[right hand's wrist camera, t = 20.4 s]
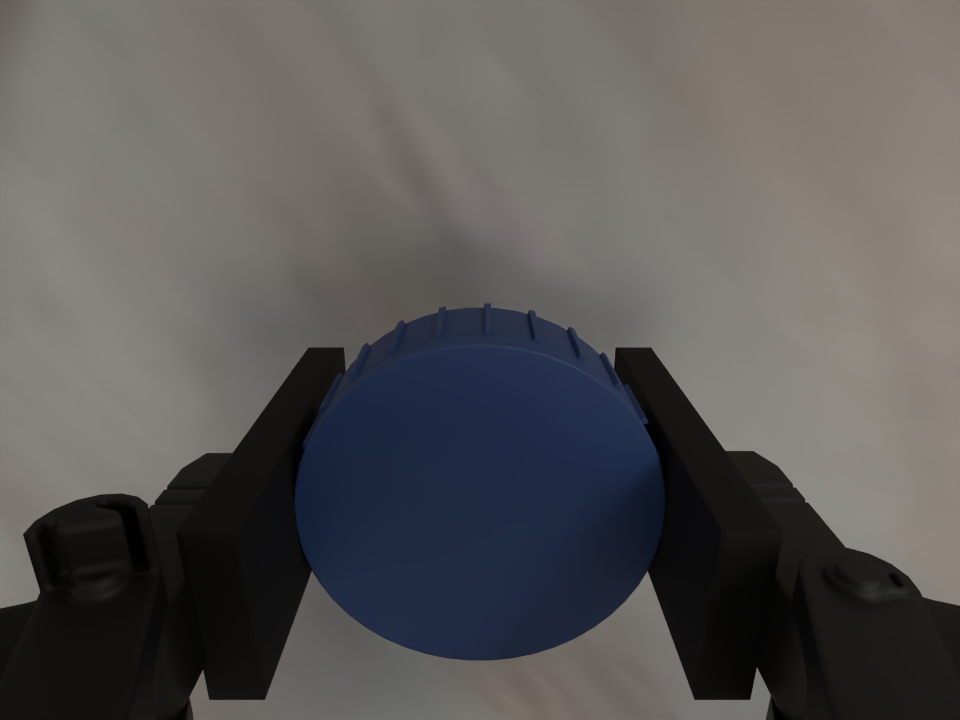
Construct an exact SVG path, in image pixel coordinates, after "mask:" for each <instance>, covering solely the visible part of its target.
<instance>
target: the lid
mask: <svg viewBox="0 0 960 720" xmlns="http://www.w3.org/2000/svg"><path fill="white" fill-rule="evenodd" d="M319 411H320V412H319V414H318V415H317V417H316V419H315V421H314V423H313V425H312V427H311V429H310V431H309V432H308V434H307V436H306V438H305V440H304V442H303V444H302V447H301V449H304V452H303V455H302V457H301V460H300V463H299V466H298V471H297V476H296V481H295V488H294V509H295V517H296V526H297V532H298V536H299V540H300V543H301V547H302V550H303V552H304V554H305V557H306V559H307V561H308V563H309V566H310V568H311V569H312V571H313V573H314V574H315V576H316V577H317V579H318V581H319V582H320V584H321V585H322V587H323V588H324V589H325V590H326V591H327V593H328V594H329V595H330V596H331V598H332V599H333V600H334V601H335V602H336V603H337V604H338V605H339V606H340V607H341V608H342V609H343V610H344V611H346V612H347V613H348V614H349V615H350V616H351V617H353V618H354V619H355V620H357V621H358V622H359V623H361V624H362V625H363V626H365V627H366V628H368V629H369V630H371V631H373V632H375V633H376V634H378V635H380V636H382V637H383V638H385V639H387V640H390V641H392V642H394V643H396V644H399V645H401V646H403V647H406V648H409V649H412V650H415V651H419V652H422V653H425V654H430V655H434V656H439V657H444V658H451V659H461V660H499V659H509V658H515V657H520V656H525V655H530V654H535V653H538V652H541V651H544V650H547V649H551V648H554V647H556V646H559V645H561V644H563V643H566V642H568V641H570V640H572V639H575V638H576V637H578V636H580V635H582V634H583V633H585V632H587V631H589V630H590V629H592V628H594V627H595V626H596V625H598V624H599V623H600V622H602V621H603V620H605V619H606V618H607V617H609V616H610V615H611V614H612V613H613V612H614V611H615V610H616V609H617V608H618V607H620V606H621V605H622V604H623V603H624V602H625V601H626V600H627V598H628V597H629V596H630V595H631V594H632V592H633V591H634V590H635V589H636V588H637V586H638V585H639V584H640V582H641V580H642V579H643V577H644V576H645V574H646V572H647V571H648V569H649V567H650V565H651V563H652V561H653V558H654V556H655V554H656V552H657V550H658V546H659V543H660V539H661V536H662V530H663V521H664V513H665V504H666V487H665V482H664V476H663V471H662V466H661V463H660V462H661V456H660V454H659V452H658V450H657V448H656V446H655V445H654V443H653V441H652V439H651V437H650V435H649V433H648V431H647V429H646V427H645V424H647V423H648V420H647V419H646V417H645V415H644V413H643V411H642V409H641V408H640V406H639V404H638V402H637V400H636V398H635V396H634V395H633V393H632V391H631V389H630V387H629V385H628V384H627V385H625V386H623V385H622V383H621V381H620V379H619V378H618V376H617V374H616V372H615V370H614V368H613V366H612V365H611V363H610V361H609V359H608V357H607V355H606V354H605V353H604V352H603V353H602V354H601V355H599V354H598V353H597V352H596V351H595V350H594V349H593V348H592V347H590V346H589V345H588V344H586V343H585V342H584V341H582V340H581V339H580V338H578V336H577V334H576V332H575V330H574V329H573V328H571V327H569V328H568V330H565V329H563V328H562V327H560V326H558V325H556V324H554V323H551V322H549V321H546V320H544V319H541V318H539V317H536V314H535V311H531V310H529V311H528V314H525V313H521V312H517V311H512V310H504V309H497V308H491V304H488V303H485V304H484V308H463V309H455V310H446V307H441V308H440V309H439V313H435V314H431V315H427V316H424V317H421V318H419V319H416V320H414V321H411V322H409V323H406V324H405V322H404V321H403V320H402V321H400V322H398V324H397V326H396V329H395V330H393V331H391V332H389V333H388V334H386V335H384V336H383V337H382V338H380V339H379V340H378V341H376V342H375V343H374V344H372V345H371V346H370V345H369V344H368V343H366V344H365V345H364V346H363V347H362V349H361V351H360V353H359V355H358V357H357V359H356V360H355V361H354V362H353V363H352V364H351V366H350V367H349V368H348V370H347V371H346V372H345V374H344V375H342V374H340V373H339V374H338V375H337V377H336V379H335V380H334V382H333V384H332V386H331V388H330V390H329V392H328V393H327V395H326V397H325V399H324V401H323V403H322V405H321V407H320V408H319Z"/></svg>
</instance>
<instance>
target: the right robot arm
mask: <svg viewBox="0 0 960 720" xmlns="http://www.w3.org/2000/svg"><path fill="white" fill-rule="evenodd" d="M614 370H615V372H616V374H617V376H618V378H619V379H620V381H621V383H622V385H623V386H625V385H627V384H628V385H629V387H630V389H631V391H632V393H633V395H634V396H635V398H636V400H637V402H638V404H639V406H640V408H641V409H642V411H643V413H644V415H645V417H646V419H647V420H648V423H647V424H645V427H646V429H647V431H648V433H649V435H650V437H651V439H652V441H653V443H654V445H655V446H656V448H657V450H658V452H659V454H660V456H661V462H660V463H661V466H662V471H663V476H664V482H665V487H666V504H665V513H664V521H663V530H662V536H661V539H660V543H659V546H658V550H657V552H656V554H655V556H654V558H653V561H652V563H651V565H650V567H649V569H648V573H649V576H650V578H651V581H652V584H653V587H654V589H655V592H656V595H657V598H658V600H659V603H660V606H661V609H662V611H663V614H664V617H665V620H666V622H667V625H668V628H669V631H670V633H671V636H672V639H673V642H674V644H675V647H676V650H677V653H678V655H679V658H680V661H681V664H682V666H683V669H684V672H685V675H686V677H687V680H688V683H689V686H690V688H691V691H692V694H693V697H694V699H695V700H750V698H751V693H752V688H753V683H754V678H755V673H756V668H758V670H759V672H760V674H761V676H762V678H763V680H764V682H765V684H766V686H767V688H768V690H769V692H770V694H771V698H770V702H769V707H768V712H767V716H766V720H960V606H958V605H954V604H949V603H944V602H939V601H934V600H931V599H927V598H923V597H922V595H921V593H920V591H919V590H918V588H917V587H916V586H915V585H914V583H913V582H912V581H911V579H910V578H909V577H908V576H907V575H905V574H904V573H903V572H901V571H900V570H899V569H897V568H896V567H894V566H893V565H892V564H890V563H888V562H886V561H884V560H882V559H879V558H877V557H875V556H873V555H871V554H868V553H864V552H861V551H857V550H853V549H849V548H846V547H845V546H844V545H843V544H842V543H841V541H840V540H839V539H838V538H837V537H836V535H835V534H834V533H833V532H832V531H831V529H830V528H829V527H828V526H827V525H826V523H825V522H824V521H823V520H822V519H821V517H820V516H819V515H818V514H817V513H816V511H815V510H814V509H813V508H812V507H811V505H810V504H809V503H805V498H804V497H803V496H802V495H801V494H800V492H799V491H798V490H797V489H796V488H793V484H792V483H791V482H790V480H789V479H788V478H787V477H786V476H785V474H784V473H783V472H782V471H781V470H780V468H779V467H778V466H776V465H775V464H773V463H772V462H770V461H768V460H767V459H765V458H764V457H762V456H760V455H759V454H757V453H755V452H754V451H725V450H724V449H723V447H722V446H721V444H720V443H719V442H718V440H717V439H716V437H715V436H714V435H713V433H712V432H711V431H710V429H709V428H708V426H707V425H706V424H705V422H704V421H703V419H702V418H701V417H700V415H699V414H698V412H697V411H696V410H695V408H694V407H693V405H692V404H691V403H690V401H689V400H688V399H687V397H686V396H685V394H684V393H683V392H682V390H681V389H680V387H679V386H678V385H677V383H676V382H675V380H674V379H673V378H672V376H671V375H670V373H669V372H668V371H667V369H666V368H665V367H664V365H663V364H662V362H661V361H660V360H659V358H658V357H657V355H656V354H655V353H654V351H653V350H652V348H616V352H615V364H614ZM345 372H346V370H345V357H344V348H308V349H307V351H306V352H305V353H304V355H303V356H302V358H301V359H300V360H299V362H298V363H297V365H296V366H295V367H294V369H293V370H292V371H291V373H290V374H289V376H288V377H287V378H286V380H285V381H284V383H283V384H282V385H281V387H280V388H279V390H278V391H277V392H276V394H275V395H274V397H273V398H272V399H271V401H270V402H269V403H268V405H267V406H266V408H265V409H264V410H263V412H262V413H261V415H260V416H259V417H258V419H257V420H256V422H255V423H254V424H253V426H252V427H251V429H250V430H249V431H248V433H247V434H246V435H245V437H244V438H243V440H242V441H241V442H240V444H239V445H238V447H237V448H236V449H235V451H234V452H233V453H206V454H205V455H203V456H201V457H200V458H198V459H197V460H195V461H193V462H192V463H190V464H189V465H187V466H185V467H184V468H182V469H181V470H180V472H179V473H178V474H177V475H176V477H175V478H174V479H173V480H172V481H171V483H170V484H169V485H168V486H167V490H164V491H163V492H162V493H161V495H160V496H159V497H158V498H157V499H156V501H155V505H151V507H150V508H148V504H147V503H145V502H144V501H143V500H141V499H140V498H139V497H136V496H131V495H126V494H104V495H97V496H93V497H88V498H84V499H80V500H76V501H73V502H71V503H68V504H66V505H63V506H61V507H58V508H56V509H54V510H52V511H51V512H49V513H47V514H46V515H44V516H43V517H41V518H39V519H38V520H36V521H35V522H34V523H33V524H32V525H31V526H30V527H29V528H28V530H27V531H26V532H25V533H24V534H23V536H24V539H25V542H26V546H27V549H28V552H29V556H30V559H31V562H32V565H33V569H34V572H35V575H36V579H37V582H38V585H39V588H40V594H39V596H38V599H37V600H36V601H33V602H29V603H25V604H20V605H16V606H11V607H6V608H1V609H0V720H194V719H193V712H192V707H191V702H190V698H189V697H190V695H191V692H192V690H193V688H194V686H195V684H196V682H197V680H198V678H199V676H200V674H201V672H202V670H204V675H205V680H206V685H207V690H208V695H209V700H265V698H266V695H267V693H268V690H269V687H270V684H271V682H272V679H273V676H274V673H275V671H276V668H277V665H278V662H279V660H280V657H281V654H282V651H283V649H284V646H285V643H286V640H287V638H288V635H289V632H290V629H291V627H292V624H293V621H294V618H295V616H296V613H297V610H298V607H299V605H300V602H301V599H302V596H303V594H304V591H305V588H306V585H307V583H308V580H309V577H310V574H311V572H312V569H311V568H310V566H309V563H308V561H307V559H306V557H305V554H304V552H303V550H302V547H301V543H300V540H299V536H298V532H297V526H296V517H295V509H294V488H295V481H296V476H297V471H298V466H299V463H300V460H301V457H302V455H303V452H304V449H301V447H302V444H303V442H304V440H305V438H306V436H307V434H308V432H309V431H310V429H311V427H312V425H313V423H314V421H315V419H316V417H317V415H318V414H319V412H320V411H319V408H320V407H321V405H322V403H323V401H324V399H325V397H326V395H327V393H328V392H329V390H330V388H331V386H332V384H333V382H334V380H335V379H336V377H337V375H338V374H339V373H340V374H342V375H344V374H345Z"/></svg>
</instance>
